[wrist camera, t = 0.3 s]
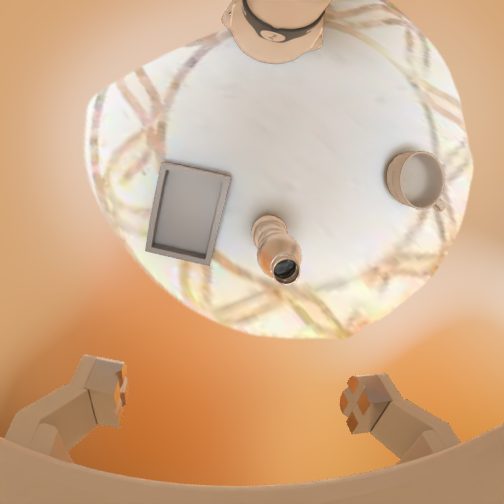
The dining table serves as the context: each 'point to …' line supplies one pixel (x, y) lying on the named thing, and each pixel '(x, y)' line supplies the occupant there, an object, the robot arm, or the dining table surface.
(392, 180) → the teacup
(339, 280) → the dining table surface
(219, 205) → the tray
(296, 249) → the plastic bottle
